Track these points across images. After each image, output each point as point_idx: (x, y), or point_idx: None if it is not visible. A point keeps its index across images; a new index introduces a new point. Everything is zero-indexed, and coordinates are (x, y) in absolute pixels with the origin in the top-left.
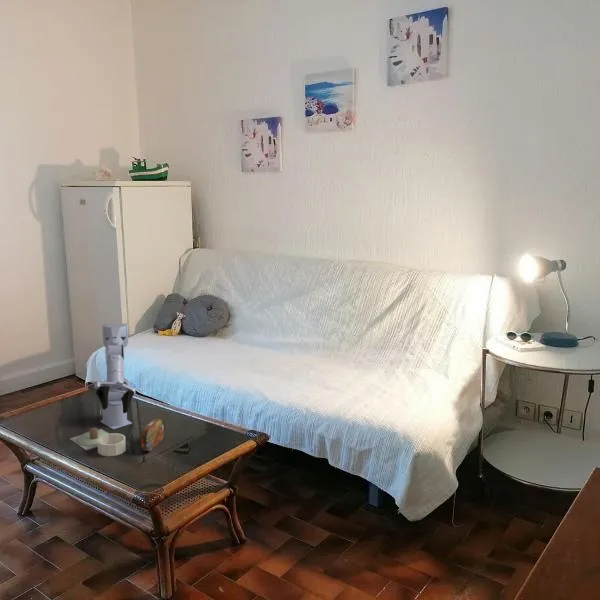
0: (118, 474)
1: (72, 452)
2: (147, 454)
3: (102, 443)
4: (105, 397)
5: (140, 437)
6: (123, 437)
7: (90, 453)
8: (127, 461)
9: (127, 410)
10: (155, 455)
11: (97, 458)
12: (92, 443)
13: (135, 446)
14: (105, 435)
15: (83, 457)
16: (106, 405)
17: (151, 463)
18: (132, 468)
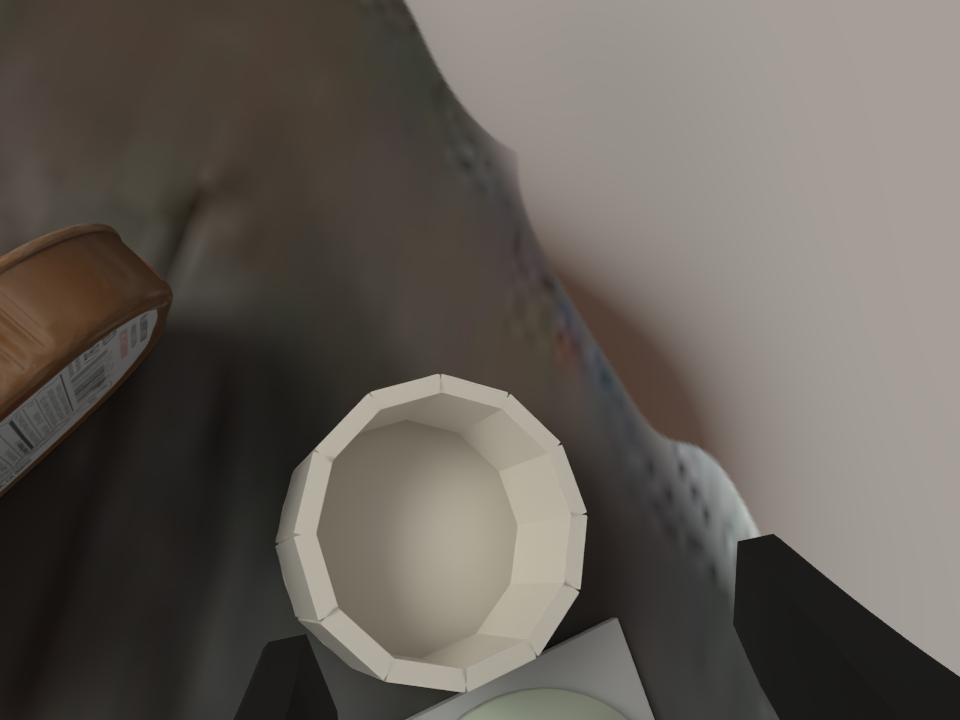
0: (435, 127)
1: (705, 638)
2: None
3: (502, 621)
4: (950, 671)
5: (165, 290)
6: (314, 538)
7: None
8: (327, 274)
9: (278, 641)
10: None
11: None
12: (570, 717)
13: (163, 543)
14: (500, 650)
15: (633, 507)
16: (785, 552)
17: (141, 135)
18: (320, 148)
